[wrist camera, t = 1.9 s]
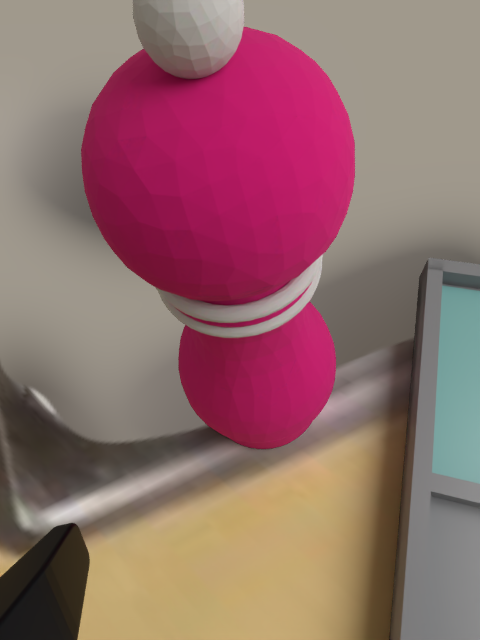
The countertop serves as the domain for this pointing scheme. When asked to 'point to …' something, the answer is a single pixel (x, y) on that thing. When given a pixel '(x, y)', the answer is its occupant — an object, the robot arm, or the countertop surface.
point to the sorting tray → (441, 464)
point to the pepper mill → (227, 206)
